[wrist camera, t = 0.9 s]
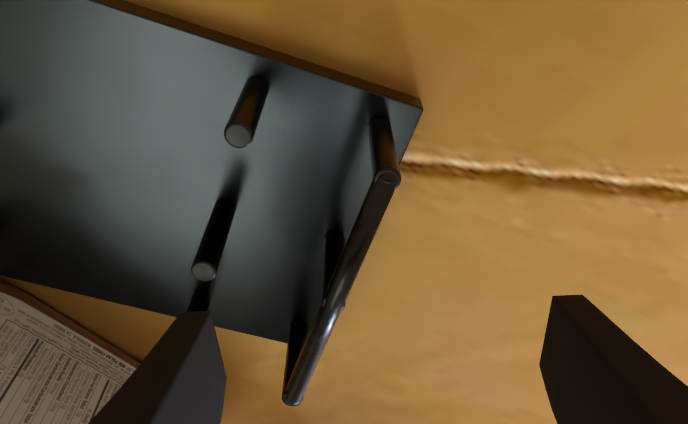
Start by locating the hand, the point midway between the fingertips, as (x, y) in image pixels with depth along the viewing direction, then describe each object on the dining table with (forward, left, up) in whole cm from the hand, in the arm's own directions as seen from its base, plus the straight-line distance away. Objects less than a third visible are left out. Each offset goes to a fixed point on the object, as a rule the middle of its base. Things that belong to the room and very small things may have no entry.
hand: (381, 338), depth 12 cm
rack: (-4, +9, -10) cm, 14 cm away
